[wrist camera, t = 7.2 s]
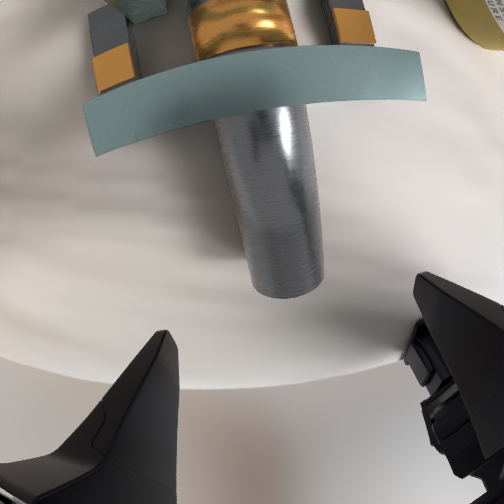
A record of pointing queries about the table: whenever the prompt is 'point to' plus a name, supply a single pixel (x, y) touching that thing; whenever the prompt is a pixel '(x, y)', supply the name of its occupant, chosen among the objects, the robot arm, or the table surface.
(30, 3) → the table surface
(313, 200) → the tube
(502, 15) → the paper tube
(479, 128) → the table surface
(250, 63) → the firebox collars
